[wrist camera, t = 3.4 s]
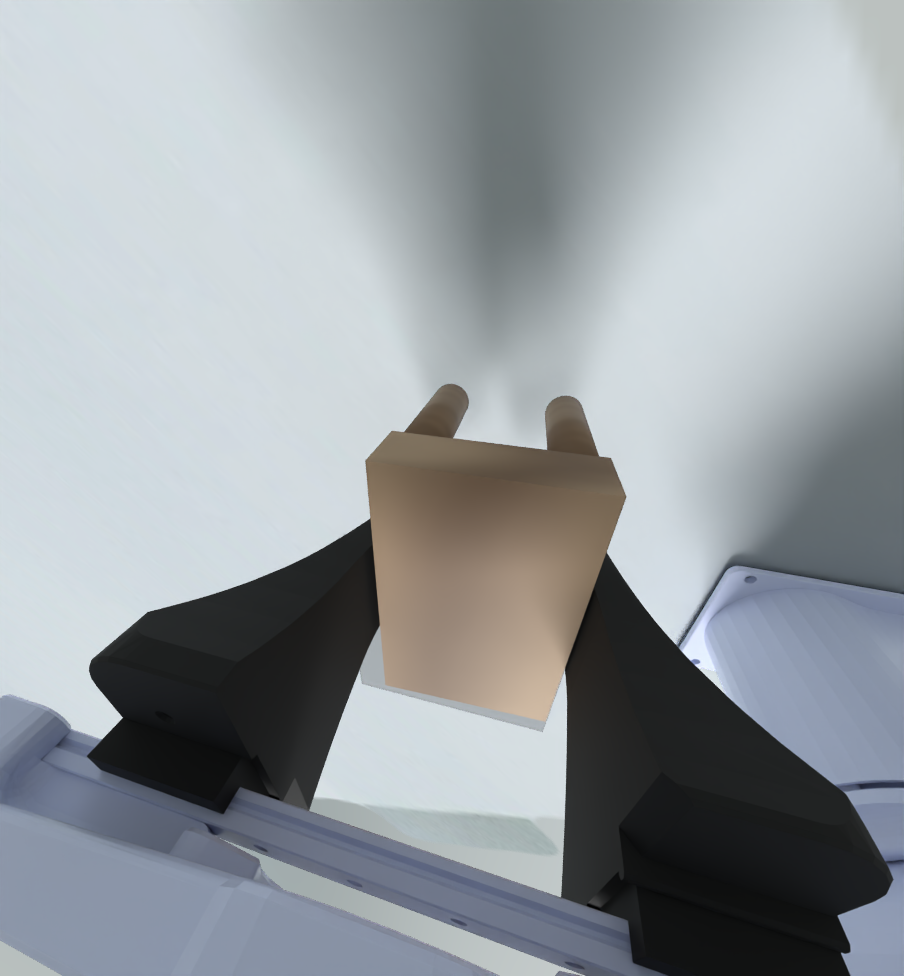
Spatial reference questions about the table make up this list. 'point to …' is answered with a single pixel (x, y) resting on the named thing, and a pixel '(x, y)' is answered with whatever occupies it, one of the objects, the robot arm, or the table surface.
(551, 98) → the table surface
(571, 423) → the stool
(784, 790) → the robot arm
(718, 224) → the table surface
